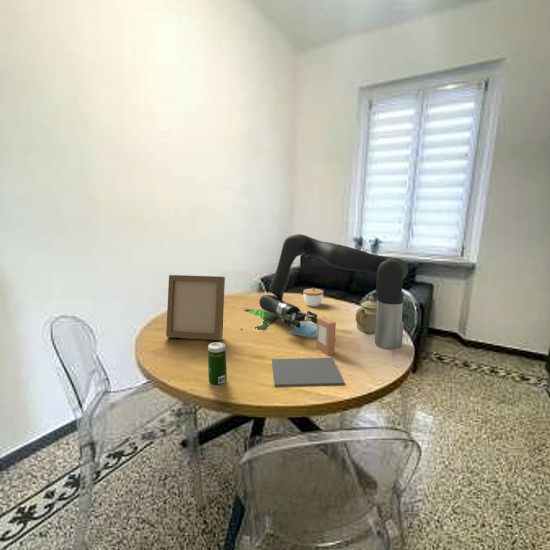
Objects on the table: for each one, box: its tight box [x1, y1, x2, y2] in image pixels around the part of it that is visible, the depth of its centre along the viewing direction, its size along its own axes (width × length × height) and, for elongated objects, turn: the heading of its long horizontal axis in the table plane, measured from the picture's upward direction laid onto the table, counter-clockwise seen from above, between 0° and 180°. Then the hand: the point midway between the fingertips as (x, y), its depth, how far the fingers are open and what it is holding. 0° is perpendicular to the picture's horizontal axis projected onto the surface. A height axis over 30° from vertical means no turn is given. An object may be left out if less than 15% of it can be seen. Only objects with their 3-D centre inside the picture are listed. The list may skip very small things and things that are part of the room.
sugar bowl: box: [355, 295, 377, 334], centre depth 146 cm, size 15×11×15 cm
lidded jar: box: [302, 287, 325, 308], centre depth 182 cm, size 11×11×9 cm
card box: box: [316, 316, 337, 356], centre depth 125 cm, size 3×7×12 cm, turn 28°
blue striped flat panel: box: [288, 321, 317, 339], centre depth 147 cm, size 14×12×1 cm
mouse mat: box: [244, 308, 279, 331], centre depth 160 cm, size 27×22×1 cm
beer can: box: [207, 341, 228, 388], centre depth 103 cm, size 5×5×12 cm
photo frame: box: [165, 274, 226, 341], centre depth 140 cm, size 15×22×25 cm
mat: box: [271, 357, 346, 387], centre depth 111 cm, size 21×17×1 cm
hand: (309, 323), depth 134 cm, fingers open, 8 cm apart
